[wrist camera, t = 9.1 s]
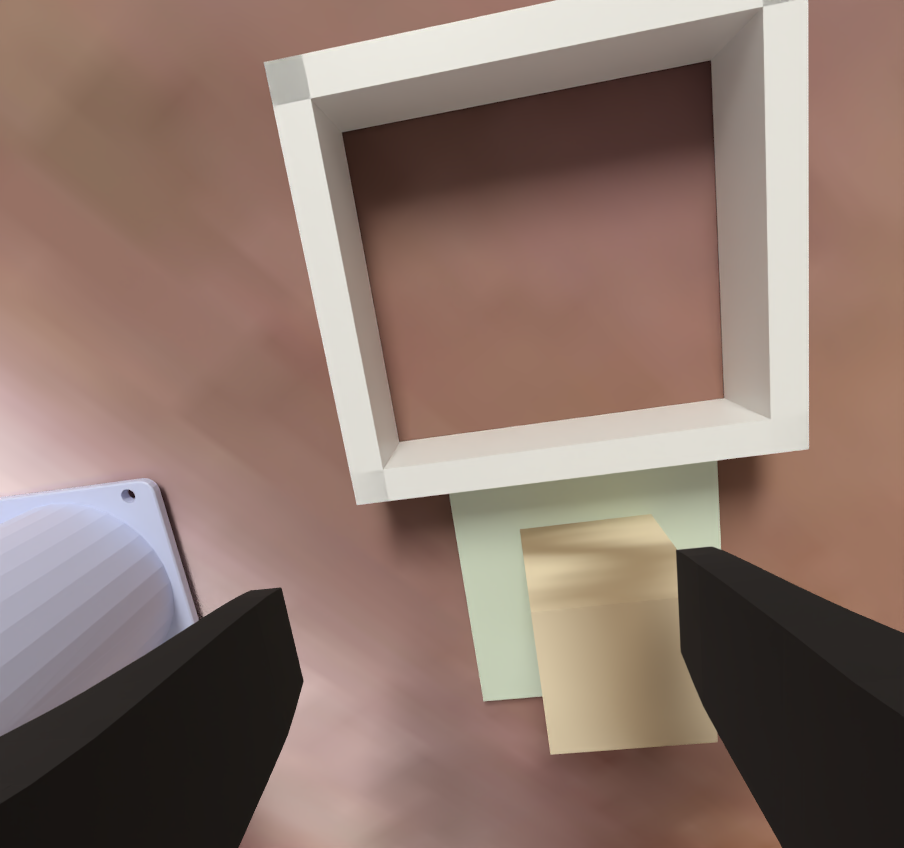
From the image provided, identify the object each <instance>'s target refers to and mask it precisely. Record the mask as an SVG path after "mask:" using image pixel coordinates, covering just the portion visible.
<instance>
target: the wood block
mask: <svg viewBox="0 0 904 848" xmlns="http://www.w3.org/2000/svg"><path fill="white" fill-rule="evenodd" d="M520 535H521V543H522V550H523V558H524V565H525V572H526V580H527V587H528V595H529V602H530V609H531V617H532V624H533V631H534V638H535V646H536V653H537V660H538V667H539V674H540V682H541V689H542V696H543V703H544V711H545V718H546V725H547V732H548V740H549V747H550V754H565V753H578V752H592V751H605V750H619V749H632V748H646V747H659V746H672V745H686V744H699V743H713V742H718V739H717V731H716V729H715V727H714V725H713V724H712V722H711V720H710V718H709V716H708V714H707V713H706V711H705V709H704V707H703V705H702V703H701V700H700V698H699V695H698V693H697V691H696V688H695V686H694V684H693V681H692V679H691V676H690V674H689V671H688V669H687V666H686V664H685V661H684V659H683V656H682V654H681V649H680V628H679V606H678V584H677V562H676V550H677V549H676V547H675V546H674V544H673V543H672V542H671V540H670V539H669V538H668V536H667V535H666V534H665V532H664V531H663V529H662V528H661V527H660V525H659V524H658V523H657V521H656V520H655V519H654V517H653V516H652V514H647V515H638V516H630V517H621V518H612V519H604V520H595V521H587V522H578V523H570V524H561V525H552V526H544V527H535V528H527V529H520Z"/></svg>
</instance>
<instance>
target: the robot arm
mask: <svg viewBox="0 0 904 848" xmlns="http://www.w3.org/2000/svg"><path fill="white" fill-rule="evenodd" d="M128 490H131V491H132V492H133V493H134V494H135V499H134V498H132V497H131V496H130V495H129V493H128ZM676 562H677V584H678V606H679V628H680V649H681V654H682V656H683V659H684V661H685V664H686V666H687V669H688V671H689V674H690V676H691V679H692V681H693V684H694V686H695V688H696V691H697V693H698V695H699V698H700V700H701V703H702V705H703V707H704V709H705V711H706V713H707V714H708V716H709V718H710V720H711V722H712V724H713V725H714V727H715V729H716V731H717V733H718V734H719V736H720V738H721V740H722V741H723V743H724V745H725V747H726V749H727V750H728V752H729V754H730V756H731V758H732V759H733V761H734V763H735V765H736V766H737V768H738V770H739V772H740V773H741V775H742V777H743V779H744V781H745V782H746V784H747V786H748V788H749V789H750V791H751V793H752V795H753V796H754V798H755V800H756V802H757V803H758V805H759V807H760V809H761V811H762V812H763V814H764V816H765V818H766V819H767V821H768V823H769V825H770V826H771V828H772V830H773V832H774V834H775V835H776V837H777V839H778V841H779V842H780V844H781V846H782V848H904V633H902V632H900V631H897V630H895V629H892V628H890V627H888V626H885V625H883V624H881V623H878V622H876V621H874V620H871V619H869V618H866V617H864V616H862V615H859V614H857V613H855V612H852V611H850V610H848V609H846V608H843V607H841V606H839V605H837V604H835V603H832V602H830V601H828V600H826V599H824V598H821V597H819V596H817V595H815V594H813V593H811V592H809V591H807V590H804V589H802V588H800V587H798V586H796V585H794V584H792V583H790V582H788V581H786V580H784V579H782V578H780V577H778V576H775V575H773V574H771V573H769V572H767V571H765V570H763V569H761V568H759V567H757V566H755V565H753V564H751V563H749V562H747V561H745V560H743V559H741V558H738V557H736V556H734V555H732V554H730V553H728V552H725V551H723V550H720V549H718V548H715V547H712V546H711V547H700V548H690V549H679V550H676ZM302 685H303V677H302V673H301V669H300V664H299V660H298V656H297V652H296V647H295V643H294V639H293V635H292V630H291V626H290V622H289V618H288V614H287V609H286V605H285V601H284V597H283V592H282V588H272V589H261V590H251V591H249V592H246V593H244V594H242V595H240V596H238V597H236V598H235V599H233V600H231V601H229V602H228V603H226V604H224V605H223V606H221V607H219V608H218V609H216V610H214V611H213V612H211V613H210V614H208V615H206V616H205V617H203V618H202V619H200V620H199V619H198V615H197V612H196V609H195V605H194V602H193V599H192V595H191V592H190V589H189V585H188V582H187V579H186V575H185V572H184V569H183V565H182V562H181V559H180V555H179V552H178V549H177V545H176V542H175V538H174V535H173V532H172V528H171V525H170V522H169V518H168V515H167V512H166V508H165V505H164V502H163V498H162V495H161V492H160V489H159V487H158V485H157V484H156V483H155V482H154V481H153V480H151V479H148V478H141V479H133V480H126V481H119V482H111V483H104V484H96V485H89V486H81V487H74V488H66V489H59V490H51V491H44V492H37V493H29V494H22V495H14V496H7V497H0V848H238V847H239V845H240V843H241V841H242V838H243V836H244V834H245V832H246V829H247V827H248V825H249V823H250V820H251V818H252V816H253V814H254V811H255V809H256V807H257V805H258V802H259V800H260V798H261V796H262V793H263V791H264V789H265V787H266V784H267V782H268V780H269V778H270V775H271V773H272V771H273V768H274V766H275V764H276V761H277V759H278V757H279V755H280V752H281V750H282V748H283V745H284V743H285V740H286V738H287V736H288V733H289V729H290V726H291V723H292V720H293V717H294V713H295V710H296V707H297V703H298V699H299V696H300V692H301V688H302Z"/></svg>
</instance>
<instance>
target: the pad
mask: <svg viewBox="0 0 904 848" xmlns="http://www.w3.org/2000/svg"><path fill="white" fill-rule="evenodd" d="M449 497H450V503H451V509H452V515H453V521H454V527H455V533H456V539H457V545H458V551H459V557H460V563H461V569H462V575H463V581H464V587H465V593H466V599H467V605H468V611H469V617H470V623H471V629H472V635H473V641H474V647H475V653H476V659H477V665H478V671H479V677H480V683H481V689H482V695H483V701H493V700H505V699H517V698H529V697H541V696H542V689H541V682H540V674H539V667H538V660H537V653H536V646H535V638H534V631H533V624H532V617H531V609H530V602H529V595H528V587H527V580H526V572H525V565H524V558H523V550H522V543H521V535H520V529H527V528H535V527H544V526H552V525H561V524H570V523H578V522H587V521H595V520H604V519H612V518H621V517H630V516H638V515H647V514H652V516H653V517H654V519H655V520H656V521H657V523H658V524H659V525H660V527H661V528H662V529H663V531H664V532H665V534H666V535H667V536H668V538H669V539H670V540H671V542H672V543H673V544H674V546H675V547H676V549H677V550H679V549H690V548H700V547H711V546H712V547H715V548H718V549H720V550H721V537H720V514H719V491H718V468H717V461H709V462H701V463H692V464H684V465H676V466H668V467H660V468H652V469H644V470H636V471H628V472H620V473H612V474H604V475H595V476H587V477H579V478H571V479H563V480H555V481H547V482H539V483H531V484H523V485H515V486H506V487H498V488H490V489H482V490H474V491H466V492H458V493H450V494H449Z"/></svg>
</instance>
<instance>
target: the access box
mask: <svg viewBox="0 0 904 848" xmlns="http://www.w3.org/2000/svg"><path fill="white" fill-rule="evenodd" d="M710 60H711V73H712V99H713V124H714V150H715V176H716V201H717V227H718V253H719V278H720V304H721V330H722V356H723V381H724V398H723V399H715V400H708V401H700V402H693V403H685V404H678V405H671V406H663V407H656V408H648V409H641V410H633V411H626V412H619V413H611V414H604V415H596V416H589V417H581V418H574V419H567V420H559V421H552V422H544V423H537V424H529V425H522V426H515V427H507V428H500V429H492V430H485V431H477V432H470V433H463V434H455V435H448V436H440V437H433V438H425V439H418V440H410V441H403V442H399V438H398V433H397V428H396V422H395V417H394V411H393V406H392V401H391V395H390V390H389V384H388V379H387V374H386V368H385V363H384V357H383V352H382V347H381V341H380V336H379V330H378V325H377V320H376V314H375V309H374V303H373V298H372V293H371V287H370V282H369V276H368V271H367V266H366V260H365V255H364V250H363V244H362V239H361V233H360V228H359V223H358V217H357V212H356V206H355V201H354V196H353V190H352V185H351V179H350V174H349V169H348V163H347V158H346V152H345V147H344V142H343V136H342V132H347V131H352V130H357V129H362V128H367V127H372V126H377V125H382V124H388V123H393V122H398V121H403V120H408V119H413V118H418V117H423V116H429V115H434V114H439V113H444V112H449V111H454V110H459V109H464V108H469V107H475V106H480V105H485V104H490V103H495V102H500V101H505V100H510V99H516V98H521V97H526V96H531V95H536V94H541V93H546V92H551V91H557V90H562V89H567V88H572V87H577V86H582V85H587V84H592V83H598V82H603V81H608V80H613V79H618V78H623V77H628V76H633V75H639V74H644V73H649V72H654V71H659V70H664V69H669V68H674V67H679V66H685V65H690V64H695V63H700V62H705V61H710ZM264 65H265V70H266V75H267V80H268V85H269V89H270V94H271V99H272V104H273V108H274V113H275V118H276V123H277V127H278V132H279V137H280V142H281V146H282V151H283V156H284V161H285V165H286V170H287V175H288V180H289V184H290V189H291V194H292V199H293V203H294V208H295V213H296V218H297V222H298V227H299V232H300V237H301V241H302V246H303V251H304V256H305V260H306V265H307V270H308V275H309V279H310V284H311V289H312V294H313V298H314V303H315V308H316V313H317V318H318V322H319V327H320V332H321V337H322V341H323V346H324V351H325V356H326V360H327V365H328V370H329V375H330V379H331V384H332V389H333V394H334V398H335V403H336V408H337V413H338V417H339V422H340V427H341V432H342V436H343V441H344V446H345V451H346V455H347V460H348V465H349V470H350V474H351V479H352V484H353V489H354V493H355V498H356V503H357V505H361V504H369V503H377V502H385V501H393V500H401V499H409V498H417V497H426V496H434V495H442V494H450V493H458V492H466V491H474V490H482V489H490V488H498V487H506V486H515V485H523V484H531V483H539V482H547V481H555V480H563V479H571V478H579V477H587V476H595V475H604V474H612V473H620V472H628V471H636V470H644V469H652V468H660V467H668V466H676V465H684V464H692V463H701V462H709V461H717V460H725V459H733V458H741V457H749V456H757V455H765V454H773V453H781V452H790V451H798V450H806V449H809V218H808V0H556V1H552V2H547V3H542V4H537V5H533V6H528V7H523V8H518V9H514V10H509V11H504V12H500V13H495V14H490V15H485V16H481V17H476V18H471V19H467V20H462V21H457V22H452V23H448V24H443V25H438V26H433V27H429V28H424V29H419V30H415V31H410V32H405V33H400V34H396V35H391V36H386V37H382V38H377V39H372V40H367V41H363V42H358V43H353V44H348V45H344V46H339V47H334V48H330V49H325V50H320V51H315V52H311V53H306V54H301V55H297V56H292V57H287V58H282V59H278V60H273V61H268V62H264Z"/></svg>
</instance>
